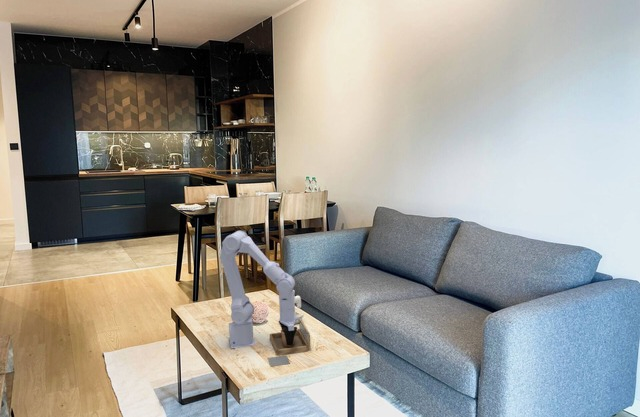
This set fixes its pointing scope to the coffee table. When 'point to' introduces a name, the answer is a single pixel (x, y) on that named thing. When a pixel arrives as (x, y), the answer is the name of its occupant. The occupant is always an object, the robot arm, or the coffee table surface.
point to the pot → (285, 340)
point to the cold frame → (298, 347)
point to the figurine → (298, 302)
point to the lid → (304, 332)
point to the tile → (278, 360)
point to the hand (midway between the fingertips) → (288, 341)
